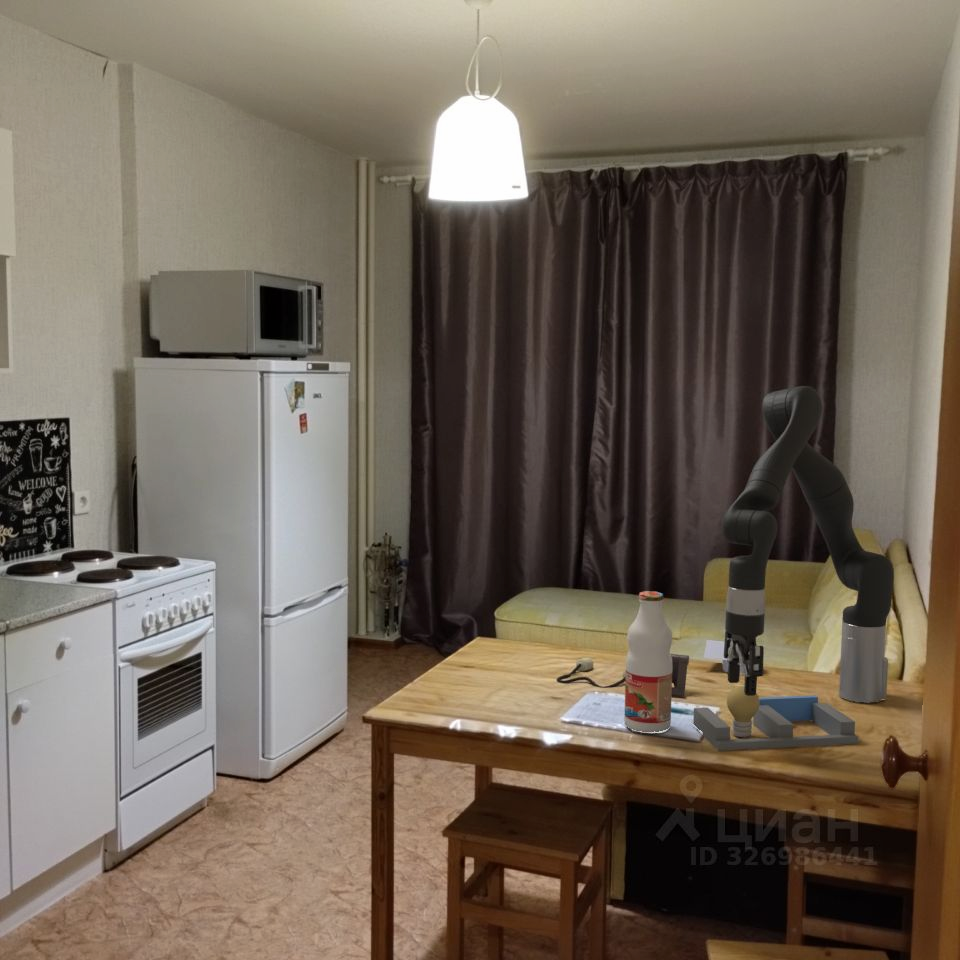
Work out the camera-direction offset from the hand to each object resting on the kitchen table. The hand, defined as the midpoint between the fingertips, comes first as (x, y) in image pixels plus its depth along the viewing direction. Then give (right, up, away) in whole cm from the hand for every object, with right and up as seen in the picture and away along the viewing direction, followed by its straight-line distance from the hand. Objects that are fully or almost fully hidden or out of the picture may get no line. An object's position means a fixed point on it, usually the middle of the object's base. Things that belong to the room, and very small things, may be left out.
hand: (741, 688), depth 210 cm
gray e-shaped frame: (+7, -10, +2) cm, 12 cm away
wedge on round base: (+10, -5, +48) cm, 49 cm away
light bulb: (0, -10, +1) cm, 10 cm away
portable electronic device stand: (-10, -7, +30) cm, 32 cm away
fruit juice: (-18, -9, +5) cm, 21 cm away
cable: (-24, -6, +38) cm, 46 cm away
